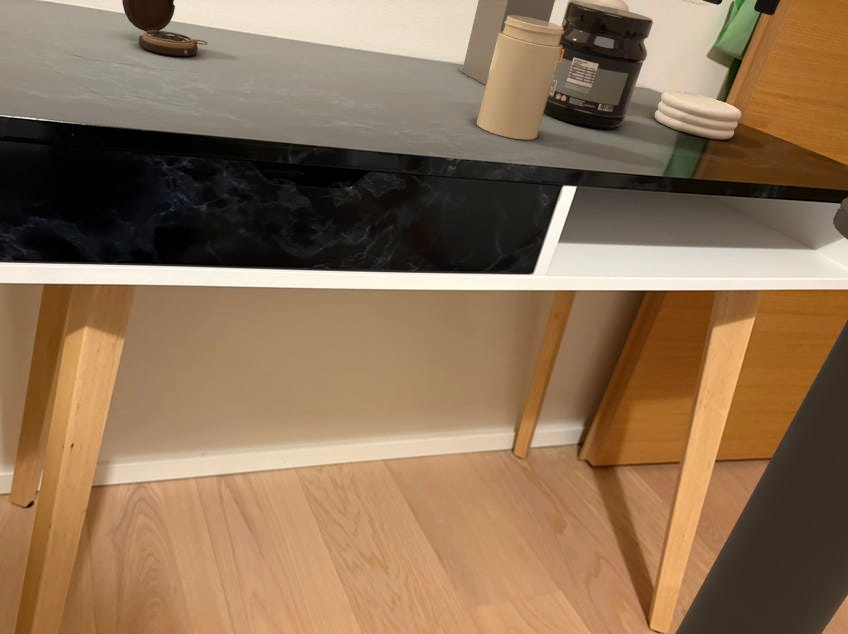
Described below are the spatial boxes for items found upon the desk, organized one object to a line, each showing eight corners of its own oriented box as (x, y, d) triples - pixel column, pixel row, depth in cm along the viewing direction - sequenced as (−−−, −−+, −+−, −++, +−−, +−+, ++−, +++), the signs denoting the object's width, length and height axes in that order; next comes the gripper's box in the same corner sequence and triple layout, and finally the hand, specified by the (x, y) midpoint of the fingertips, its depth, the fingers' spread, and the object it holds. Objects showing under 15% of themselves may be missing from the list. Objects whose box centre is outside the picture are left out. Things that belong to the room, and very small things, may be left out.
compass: (160, 58, 82) (164, -19, 79) (118, 38, 87) (120, -35, 83) (223, 57, 88) (229, -14, 84) (180, 39, 92) (185, -30, 88)
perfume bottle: (504, 76, 110) (541, -69, 101) (530, 90, 105) (572, -63, 96) (461, 72, 108) (497, -79, 99) (486, 85, 102) (525, -72, 93)
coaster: (745, 139, 103) (757, 112, 101) (705, 142, 97) (717, 113, 95) (679, 116, 109) (689, 89, 107) (638, 116, 103) (647, 89, 101)
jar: (549, 140, 83) (581, 32, 77) (501, 139, 79) (532, 26, 74) (510, 121, 87) (538, 17, 82) (464, 119, 84) (490, 11, 78)
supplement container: (600, 112, 101) (633, 10, 95) (636, 136, 92) (675, 26, 86) (522, 99, 99) (551, -5, 93) (552, 123, 90) (586, 9, 84)
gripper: (844, -151, 92) (776, 14, 101) (718, -186, 88) (658, -10, 97) (893, -149, 86) (816, 25, 95) (761, -187, 81) (692, 1, 90)
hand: (737, 6), depth 96 cm, fingers closed on lid, 6 cm apart
